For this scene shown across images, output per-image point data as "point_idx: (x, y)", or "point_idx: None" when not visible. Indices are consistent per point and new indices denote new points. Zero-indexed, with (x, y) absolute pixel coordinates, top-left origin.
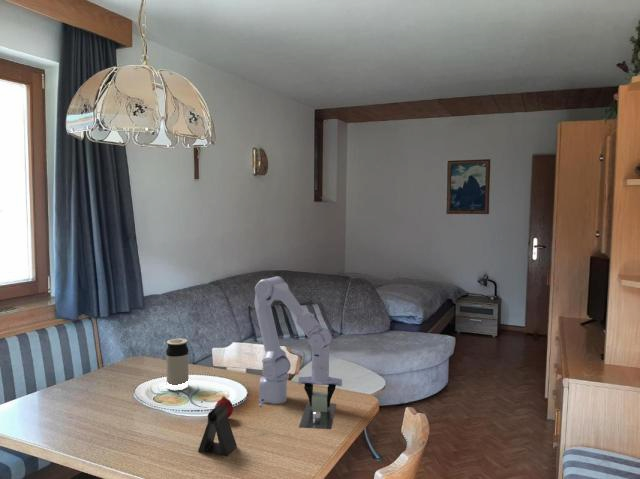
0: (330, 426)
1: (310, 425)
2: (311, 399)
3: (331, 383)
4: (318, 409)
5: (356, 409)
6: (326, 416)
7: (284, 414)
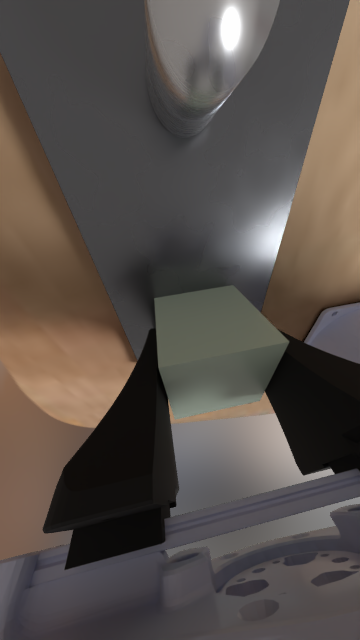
0: None
1: None
2: None
3: (132, 562)
4: (201, 296)
5: (62, 370)
6: (134, 234)
7: (349, 247)
